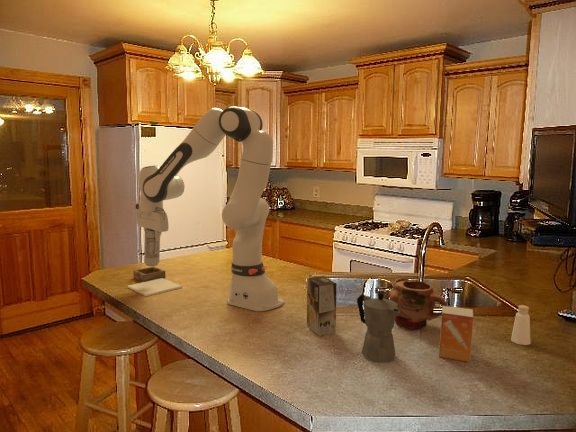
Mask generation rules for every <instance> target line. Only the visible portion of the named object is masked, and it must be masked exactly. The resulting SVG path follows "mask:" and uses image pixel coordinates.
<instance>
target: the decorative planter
mask: <svg viewBox="0 0 576 432" xmlns="http://www.w3.org/2000/svg"><path fill="white" fill-rule="evenodd" d="M388 298H389V300H392V301H394V302H395V303H396V304H398V310H400V313H399V314H397V315H396V318H395V324H396V325H397V326H398V327H400V328H402V329H405V330H408V331H420V330H422V329H424V328H426V326H427V322H428V321H431V320H435V319H437V318H439V317H442V311H440V312H438V313H435V311H434V310H435V309H434V308H435V307H436V303H440V305H441V306H442V308H443V306H448V303H447V301H446V299H445V298H444V297H442V296H441V295H438V294H435V293H434V288H433V287H432V286H431V284H429V283H427V282H424V281H421V280H401V281H397V282H395V283H394V284H393V286H392V290H389V292H388ZM442 308H441V309H442Z"/></svg>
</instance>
